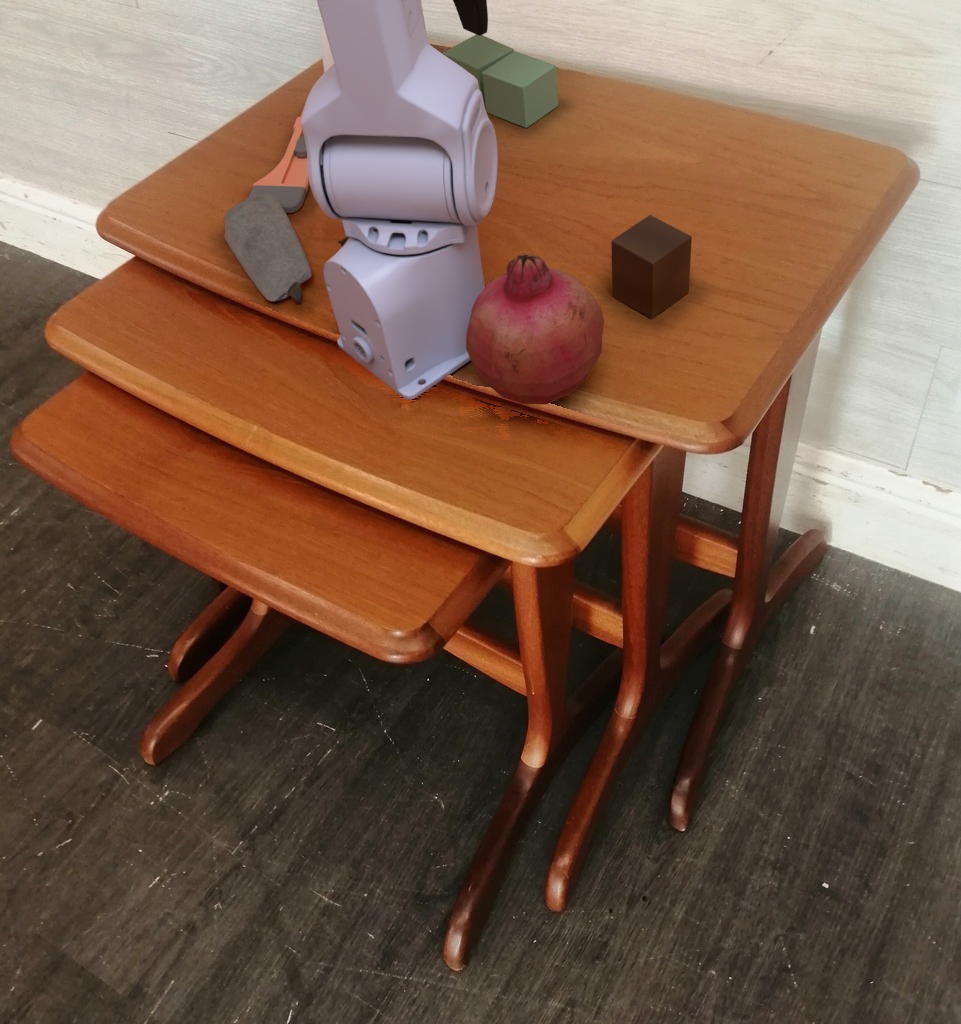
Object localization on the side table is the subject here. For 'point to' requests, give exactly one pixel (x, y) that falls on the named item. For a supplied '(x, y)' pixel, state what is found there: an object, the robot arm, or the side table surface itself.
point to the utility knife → (288, 174)
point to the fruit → (534, 332)
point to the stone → (266, 245)
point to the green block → (478, 56)
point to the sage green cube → (520, 89)
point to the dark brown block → (651, 266)
